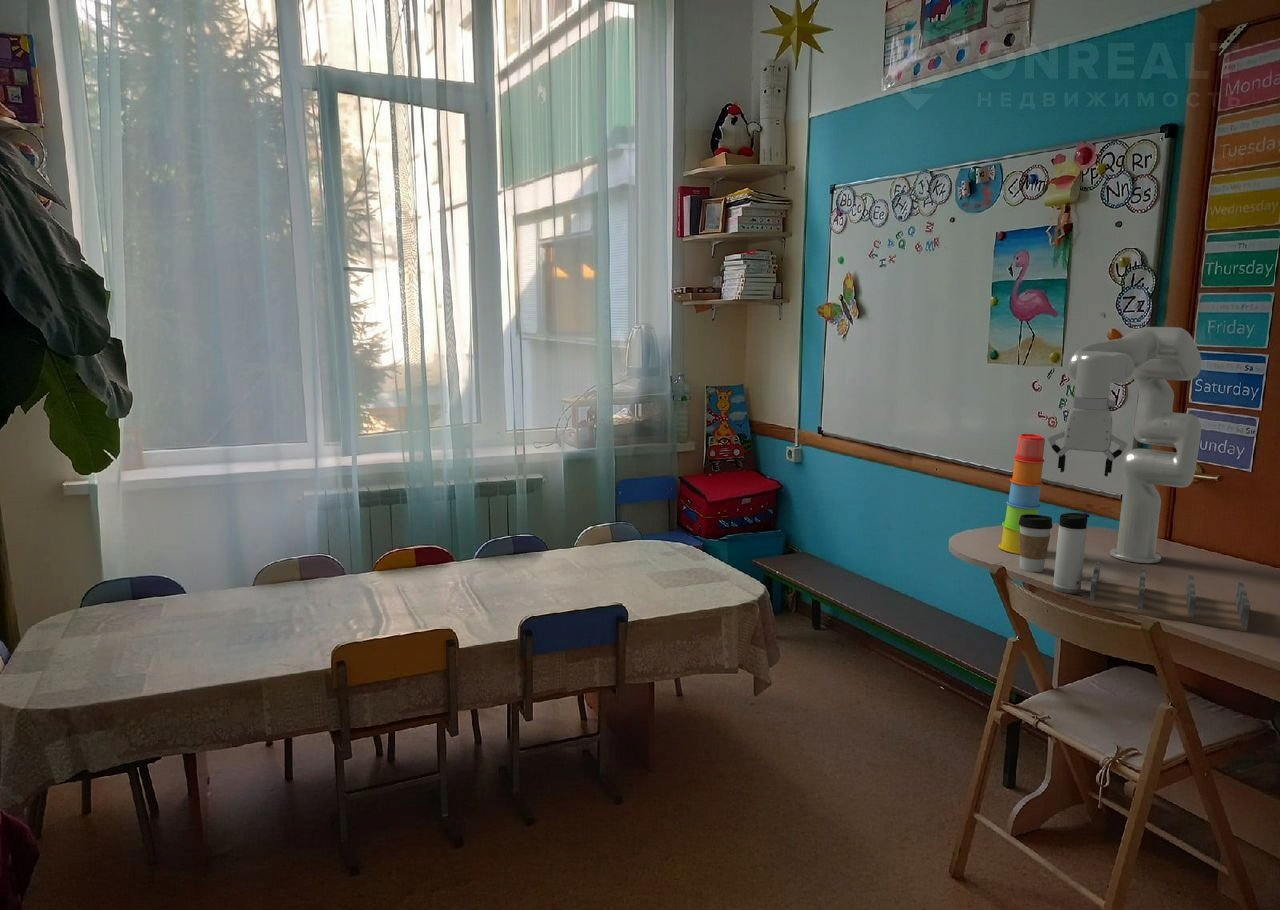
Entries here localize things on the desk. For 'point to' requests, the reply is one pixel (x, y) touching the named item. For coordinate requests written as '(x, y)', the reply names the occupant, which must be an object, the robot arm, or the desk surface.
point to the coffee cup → (1034, 541)
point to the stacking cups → (1023, 488)
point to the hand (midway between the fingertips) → (1083, 473)
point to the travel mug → (1070, 552)
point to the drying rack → (1171, 603)
